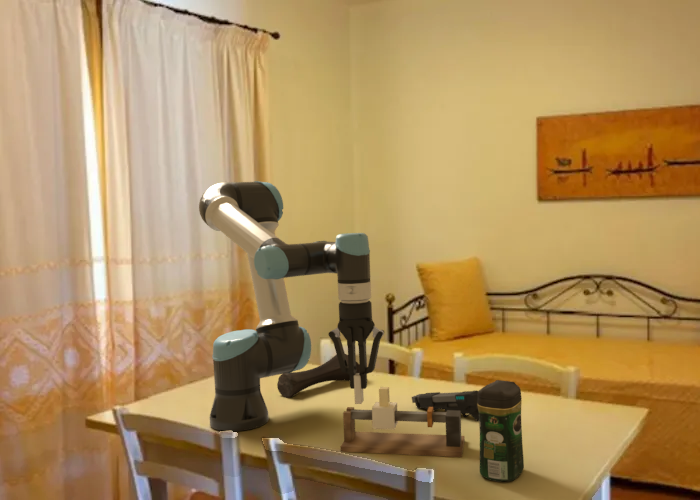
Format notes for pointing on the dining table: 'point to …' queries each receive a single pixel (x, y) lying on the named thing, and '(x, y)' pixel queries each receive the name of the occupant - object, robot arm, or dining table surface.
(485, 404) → the coffee jar
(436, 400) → the gun
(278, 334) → the robot arm
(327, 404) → the dining table surface
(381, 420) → the sleeve
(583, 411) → the dining table surface
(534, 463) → the dining table surface
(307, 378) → the dark brown bone
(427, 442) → the slider rail stand
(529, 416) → the dining table surface
